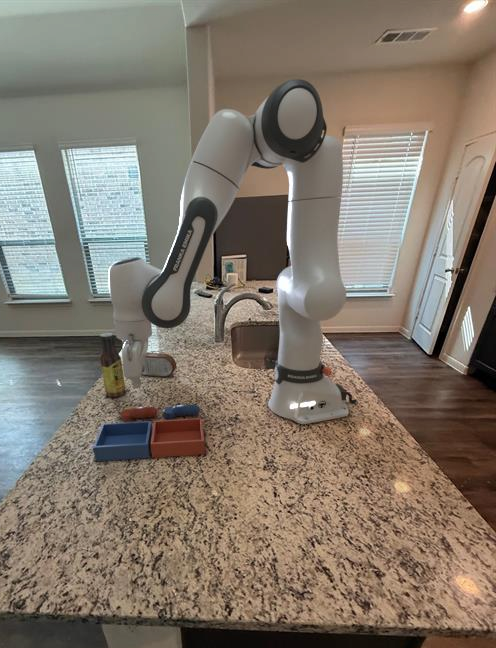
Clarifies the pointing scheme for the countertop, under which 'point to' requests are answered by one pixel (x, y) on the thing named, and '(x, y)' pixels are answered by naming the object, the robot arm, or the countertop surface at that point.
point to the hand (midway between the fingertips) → (139, 378)
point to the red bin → (177, 438)
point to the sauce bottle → (111, 367)
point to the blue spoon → (181, 410)
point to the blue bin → (123, 441)
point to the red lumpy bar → (138, 413)
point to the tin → (159, 365)
